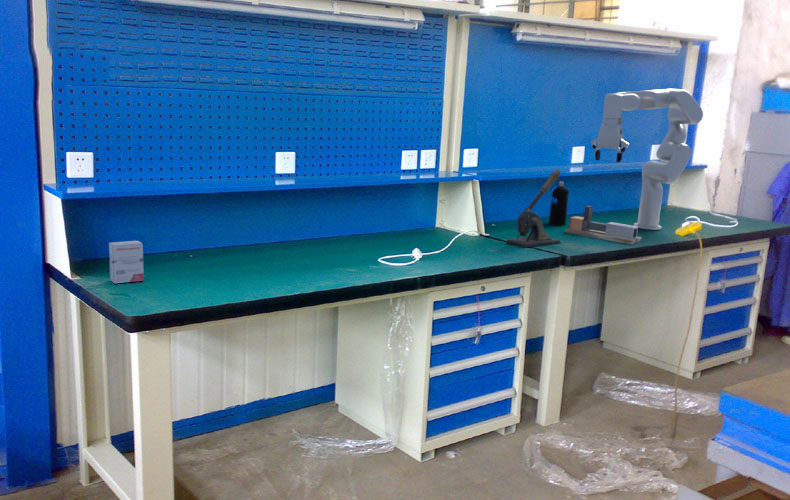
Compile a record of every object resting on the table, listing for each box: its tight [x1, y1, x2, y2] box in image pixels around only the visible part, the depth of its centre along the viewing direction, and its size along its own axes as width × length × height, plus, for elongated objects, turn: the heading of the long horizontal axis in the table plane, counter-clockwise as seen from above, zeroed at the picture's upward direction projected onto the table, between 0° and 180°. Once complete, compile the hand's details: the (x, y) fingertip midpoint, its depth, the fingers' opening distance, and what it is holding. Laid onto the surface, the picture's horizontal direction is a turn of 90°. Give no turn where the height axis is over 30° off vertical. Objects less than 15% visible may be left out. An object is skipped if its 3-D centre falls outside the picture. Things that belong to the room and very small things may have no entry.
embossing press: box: [505, 169, 561, 248], centre depth 294 cm, size 11×24×30 cm, turn 126°
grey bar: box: [582, 205, 607, 232], centre depth 319 cm, size 4×16×10 cm, turn 51°
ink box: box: [108, 240, 145, 284], centre depth 212 cm, size 9×5×12 cm, turn 124°
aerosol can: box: [547, 181, 570, 227], centre depth 340 cm, size 8×8×20 cm
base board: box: [565, 227, 643, 245], centre depth 319 cm, size 12×30×2 cm, turn 51°
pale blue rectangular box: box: [605, 221, 639, 239], centre depth 313 cm, size 5×12×5 cm, turn 51°
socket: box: [568, 215, 584, 231], centre depth 325 cm, size 6×6×5 cm
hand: (608, 161), depth 325 cm, fingers open, 9 cm apart
